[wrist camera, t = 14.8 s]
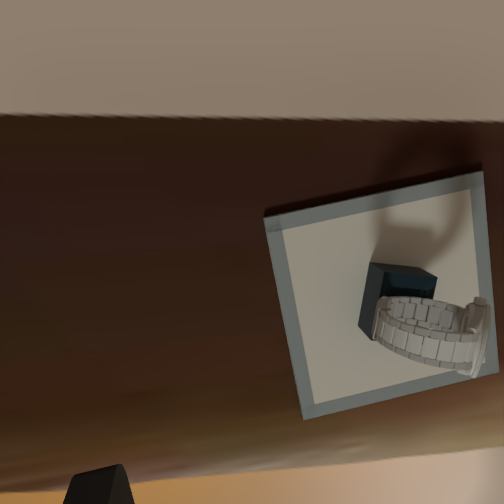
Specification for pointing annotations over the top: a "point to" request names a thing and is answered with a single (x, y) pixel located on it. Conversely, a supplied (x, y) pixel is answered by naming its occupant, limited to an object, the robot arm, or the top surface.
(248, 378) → the top surface
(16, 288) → the top surface
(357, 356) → the mat
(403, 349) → the watch
